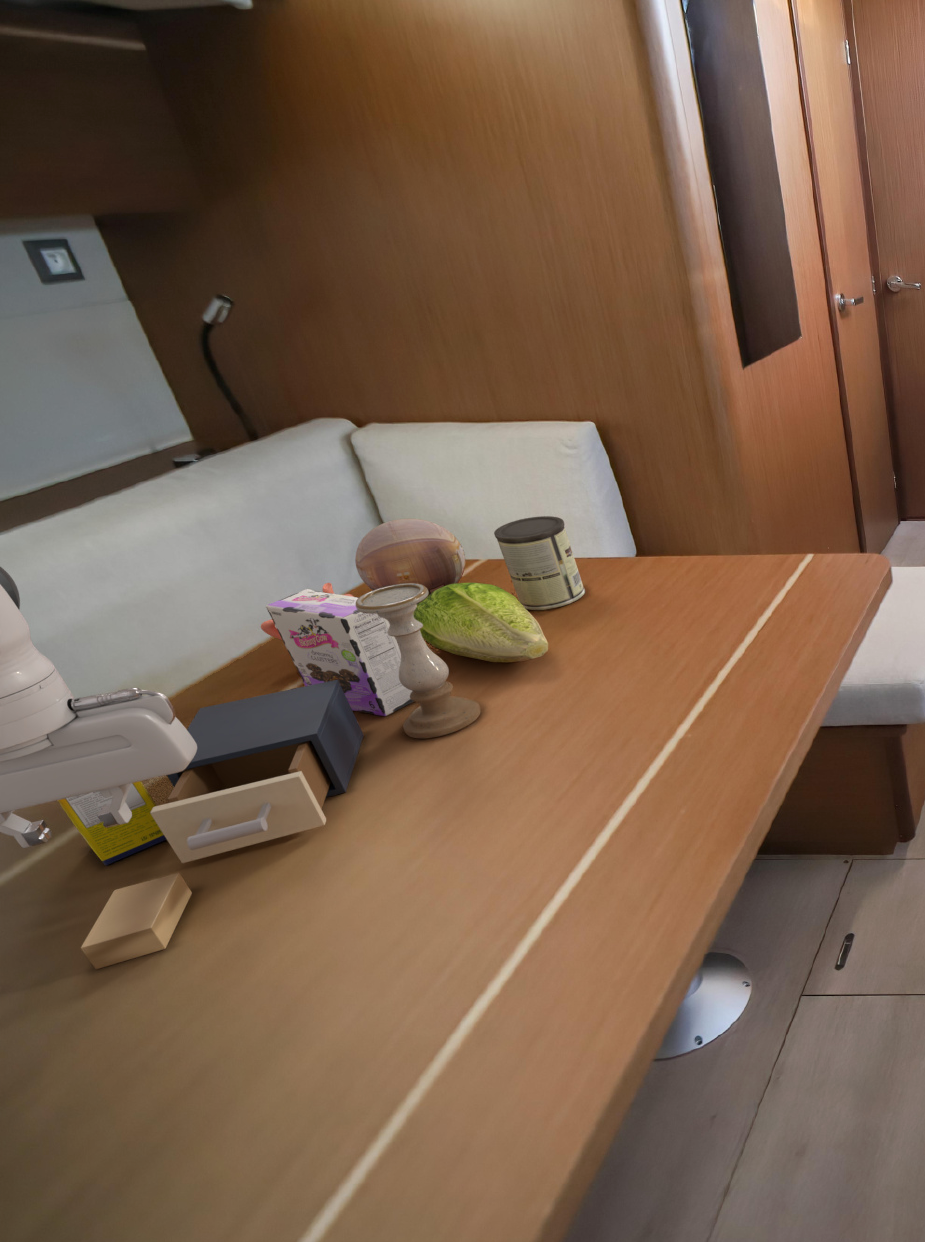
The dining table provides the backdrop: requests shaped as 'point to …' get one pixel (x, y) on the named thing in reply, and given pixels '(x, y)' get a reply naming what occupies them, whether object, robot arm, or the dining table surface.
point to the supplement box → (118, 838)
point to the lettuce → (480, 623)
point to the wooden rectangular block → (137, 921)
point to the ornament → (410, 555)
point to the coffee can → (540, 562)
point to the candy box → (342, 649)
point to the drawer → (244, 801)
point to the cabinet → (281, 729)
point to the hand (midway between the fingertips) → (80, 831)
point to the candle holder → (419, 664)
